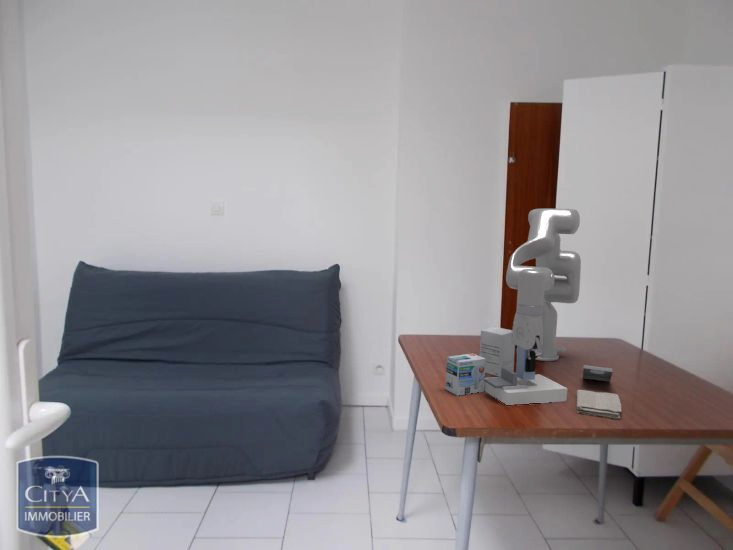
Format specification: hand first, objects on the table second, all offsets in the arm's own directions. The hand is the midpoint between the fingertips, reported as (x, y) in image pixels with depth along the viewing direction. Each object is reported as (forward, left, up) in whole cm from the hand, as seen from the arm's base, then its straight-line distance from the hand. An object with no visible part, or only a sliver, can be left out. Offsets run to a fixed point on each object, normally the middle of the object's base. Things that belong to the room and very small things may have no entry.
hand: (525, 368), depth 160 cm
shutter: (+8, 0, -4) cm, 9 cm away
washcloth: (-17, +12, -9) cm, 23 cm away
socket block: (0, 0, -8) cm, 8 cm away
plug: (0, 0, -3) cm, 3 cm away
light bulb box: (+16, -8, -9) cm, 20 cm away
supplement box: (-4, -24, -9) cm, 26 cm away
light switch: (-30, -4, -9) cm, 31 cm away
